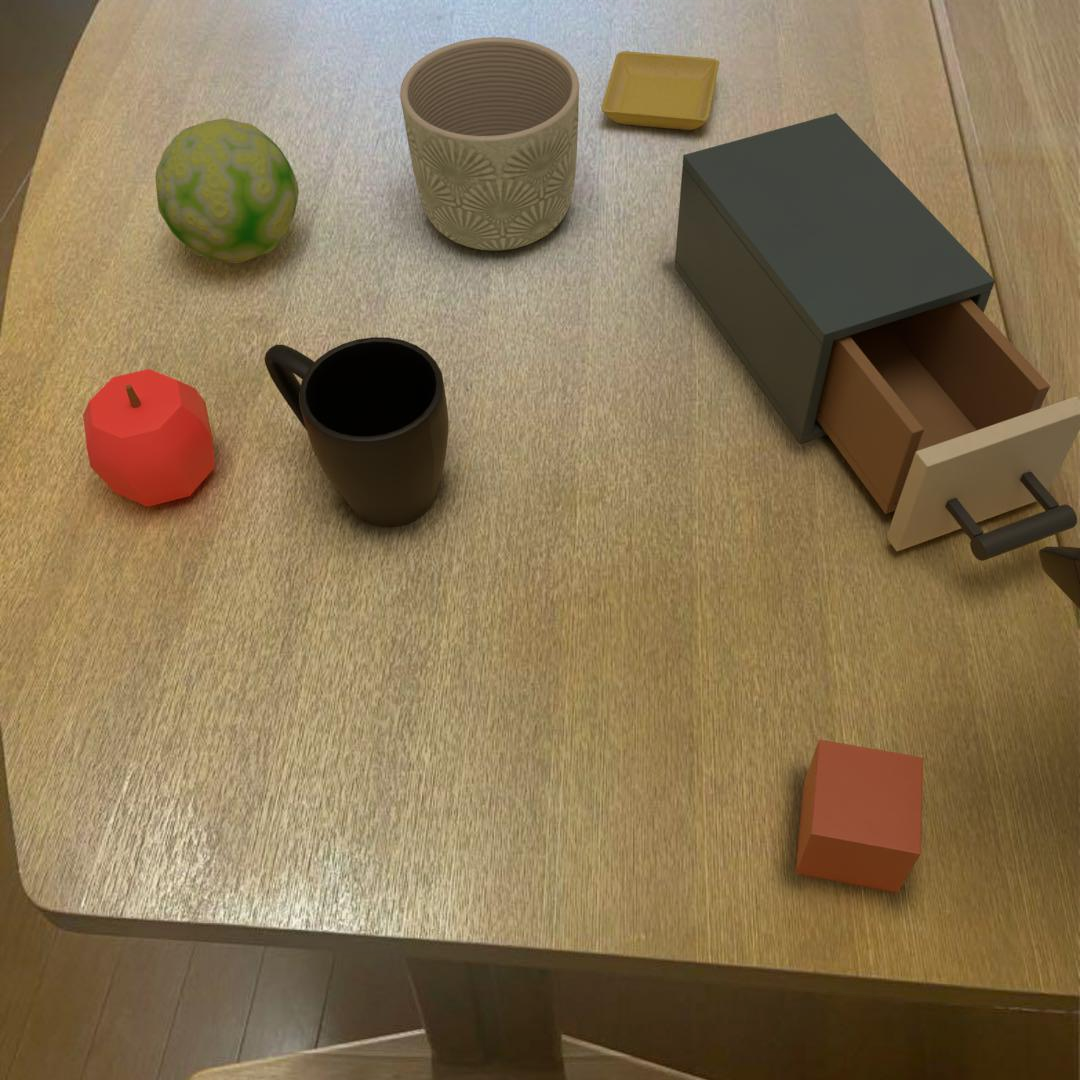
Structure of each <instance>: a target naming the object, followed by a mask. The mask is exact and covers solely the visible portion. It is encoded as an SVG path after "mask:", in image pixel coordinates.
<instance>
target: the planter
mask: <svg viewBox="0 0 1080 1080" xmlns="http://www.w3.org/2000/svg"><path fill="white" fill-rule="evenodd" d="M399 94H400V95H399V97H400V104H401V108H402V109H401V110H402V115H403V120H404V127H405V132H406V138H407V143H408V149H409V156H410V160H411V161H410V162H411V166H412V170H413V171H412V172H413V175H414V180H415V185H416V189H417V193H418V196H419V199H420V202H421V205H422V207H423V210H424V212H425V214H426V217H427V218H428V220H429V221H430V223H431V224H432V225H433V227H434V228H435V229H436V230H437V231H438V232H439V233H441V235H443V236H444V237H446V238H447V239H449V240H450V241H453V242H454V243H456V244H459V245H460V246H464V247H468V248H471V249H476V250H481V251H493V252H494V251H495V252H497V251H508V250H513V249H518V248H522V247H526V246H529V245H531V244H533V243H535V242H537V241H539V240H540V239H543V238H545V237H546V236H547V235H549V234H550V233H551V232H552V231H554V230H555V229H556V228H557V227H558V225H559V224H560V223H561V222H562V221H563V219H564V217H565V216H566V214H567V212H568V210H569V207H570V205H571V202H572V198H573V197H572V196H573V193H574V187H575V181H576V172H577V160H578V159H577V157H578V136H579V132H578V131H579V107H580V106H579V105H580V104H579V103H580V80H579V77H578V74H577V72H576V70H575V68H574V66H572V64H571V63H570V62H569V61H568V60H567V59H566V57H564V56H563V55H561V54H560V53H559V52H557V51H555V50H553V49H552V48H549V47H547V46H545V45H542V44H540V43H537V42H533V41H529V40H525V39H520V38H513V37H492V36H491V37H478V38H470V39H466V40H461V41H457V42H453V43H450V44H447V45H444V46H442V47H440V48H437V49H435V50H433V51H431V52H430V53H428V54H426V55H424V56H423V57H422V58H420V59H419V60H418V61H417V62H415V63H414V64H413V65H412V66H411V67H410V68H409V70H408V71H407V72H406V74H405V75H404V77H403V79H402V81H401V85H400V89H399Z"/></svg>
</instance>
